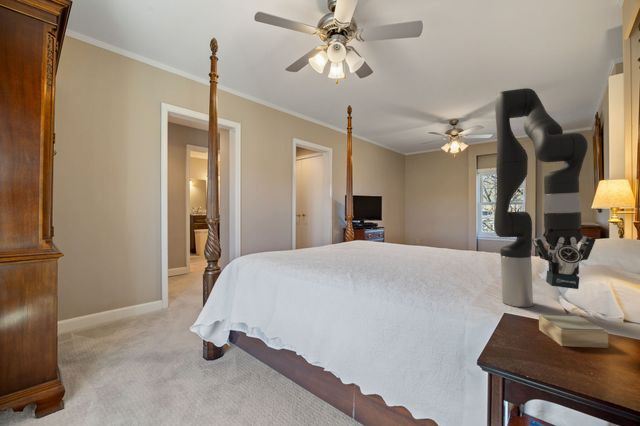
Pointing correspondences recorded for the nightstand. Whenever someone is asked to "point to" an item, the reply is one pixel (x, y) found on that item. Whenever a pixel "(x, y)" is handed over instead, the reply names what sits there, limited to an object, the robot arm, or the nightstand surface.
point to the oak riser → (573, 331)
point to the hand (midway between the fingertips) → (563, 275)
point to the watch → (565, 268)
